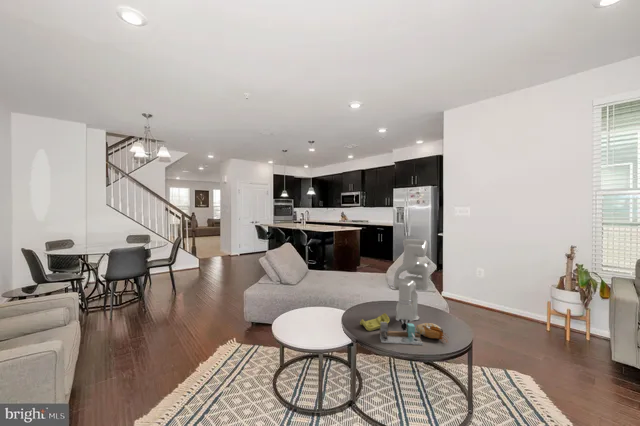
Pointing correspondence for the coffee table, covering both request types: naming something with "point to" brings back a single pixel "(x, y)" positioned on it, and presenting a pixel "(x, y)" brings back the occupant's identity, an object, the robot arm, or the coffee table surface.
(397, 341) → the bolt plate
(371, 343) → the coffee table surface
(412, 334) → the block
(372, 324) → the plastic component
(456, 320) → the coffee table surface
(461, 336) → the coffee table surface
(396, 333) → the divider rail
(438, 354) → the coffee table surface
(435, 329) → the nautilus
